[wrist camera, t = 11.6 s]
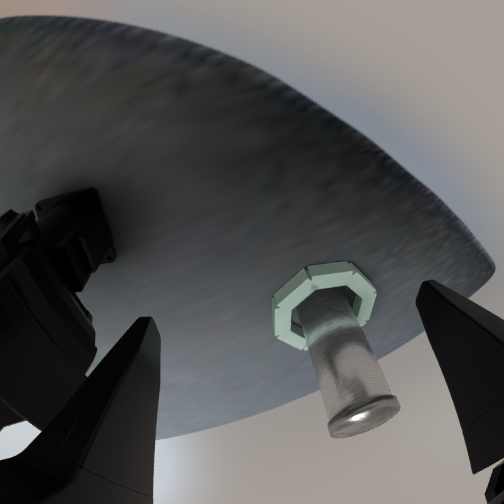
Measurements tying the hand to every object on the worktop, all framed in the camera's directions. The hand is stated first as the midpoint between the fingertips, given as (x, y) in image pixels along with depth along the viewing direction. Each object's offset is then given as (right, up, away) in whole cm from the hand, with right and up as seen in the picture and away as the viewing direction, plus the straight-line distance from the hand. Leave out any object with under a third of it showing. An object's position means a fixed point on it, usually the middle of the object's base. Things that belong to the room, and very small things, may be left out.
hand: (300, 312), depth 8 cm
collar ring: (+5, -3, +18) cm, 19 cm away
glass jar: (+5, -3, +18) cm, 19 cm away
